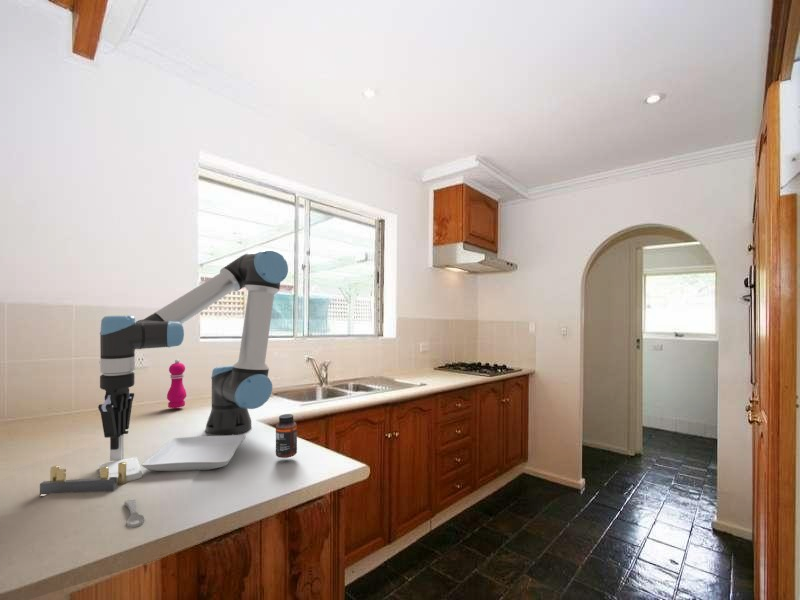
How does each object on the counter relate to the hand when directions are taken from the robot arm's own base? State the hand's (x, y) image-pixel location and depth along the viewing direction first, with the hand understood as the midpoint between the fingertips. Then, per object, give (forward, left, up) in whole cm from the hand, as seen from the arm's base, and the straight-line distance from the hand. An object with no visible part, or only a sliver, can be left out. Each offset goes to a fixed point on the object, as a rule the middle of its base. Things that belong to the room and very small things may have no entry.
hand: (116, 459), depth 104 cm
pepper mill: (+9, -63, -2) cm, 63 cm away
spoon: (-17, +28, -2) cm, 33 cm away
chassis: (0, +13, -1) cm, 13 cm away
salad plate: (-20, -2, -2) cm, 20 cm away
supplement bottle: (-44, -1, -2) cm, 44 cm away
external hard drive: (-1, +1, -1) cm, 1 cm away
